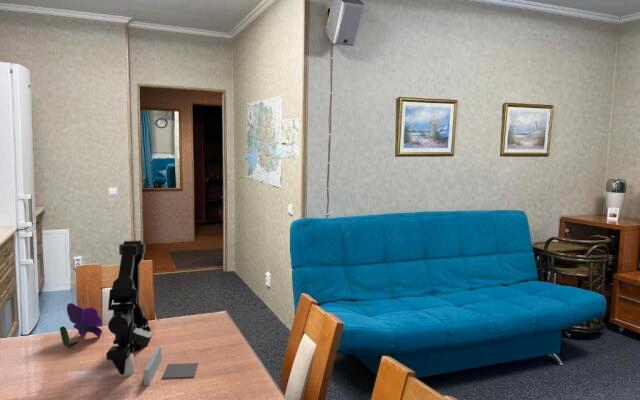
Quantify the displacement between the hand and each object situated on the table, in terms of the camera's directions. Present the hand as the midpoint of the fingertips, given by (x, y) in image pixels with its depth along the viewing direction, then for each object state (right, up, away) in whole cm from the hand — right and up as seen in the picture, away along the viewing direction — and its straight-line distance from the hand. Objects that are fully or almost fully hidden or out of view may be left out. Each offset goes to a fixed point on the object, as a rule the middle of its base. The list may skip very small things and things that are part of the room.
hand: (125, 368), depth 162 cm
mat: (+17, -2, +2) cm, 18 cm away
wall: (+9, -2, +1) cm, 9 cm away
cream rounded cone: (0, -2, 0) cm, 2 cm away
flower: (-27, +1, +25) cm, 36 cm away
